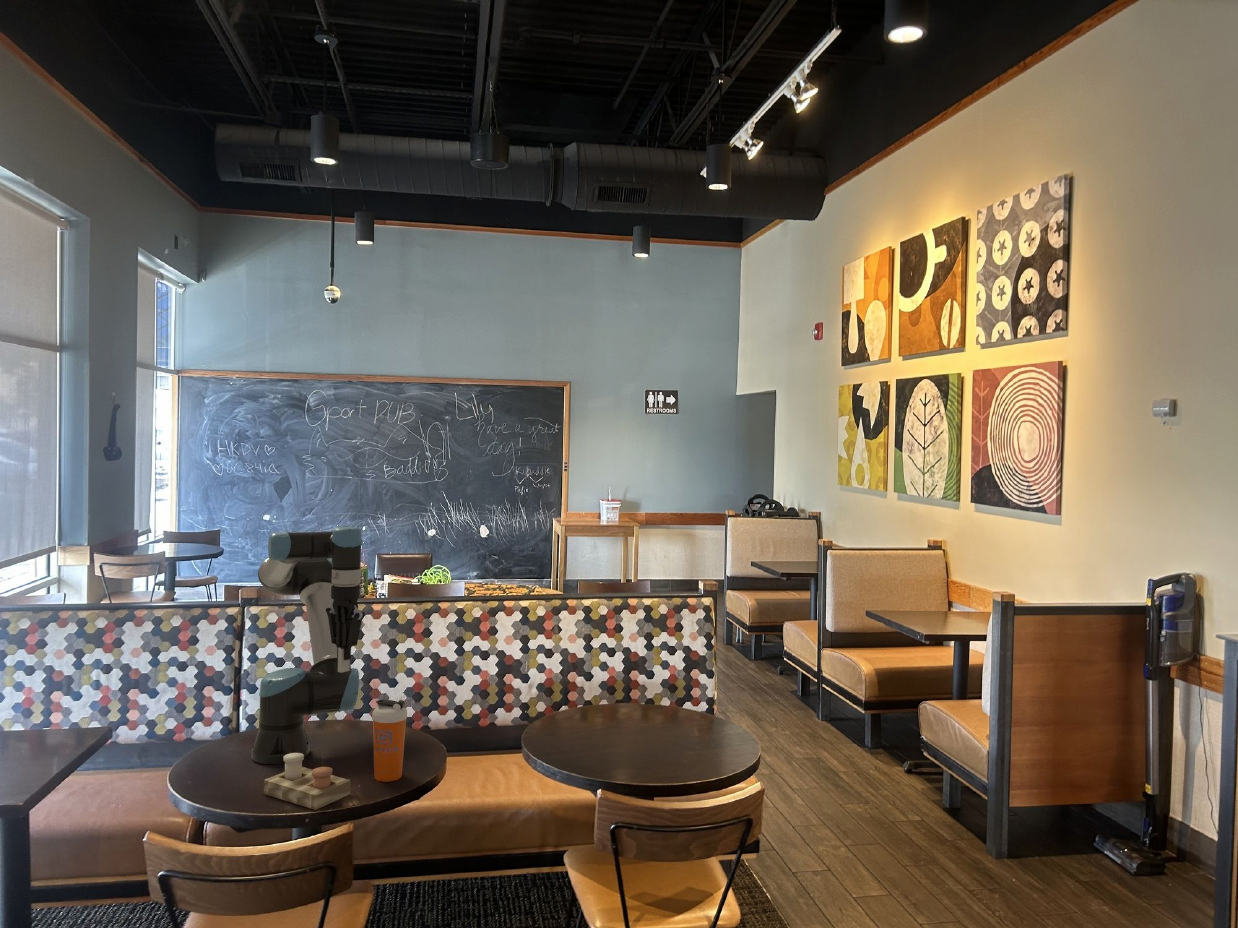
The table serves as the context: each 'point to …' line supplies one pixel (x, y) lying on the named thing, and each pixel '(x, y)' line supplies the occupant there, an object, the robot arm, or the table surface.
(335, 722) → the table surface
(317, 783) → the plug rust
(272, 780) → the socket board
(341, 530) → the robot arm
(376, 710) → the shaker bottle
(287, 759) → the plug cream
